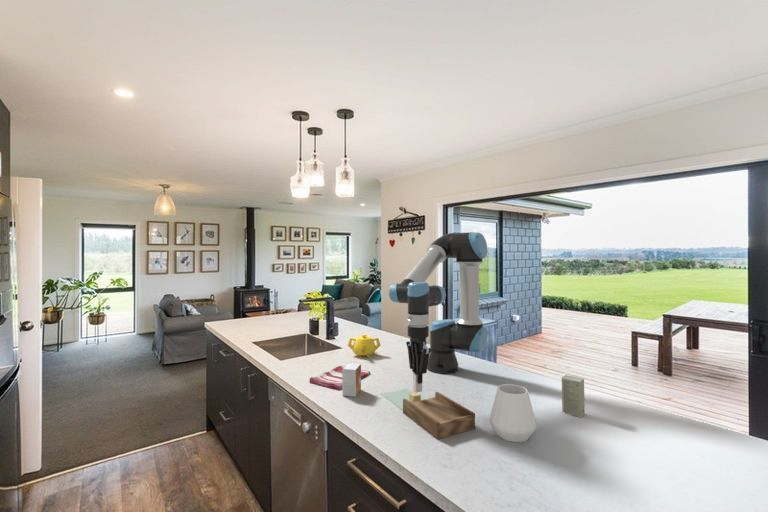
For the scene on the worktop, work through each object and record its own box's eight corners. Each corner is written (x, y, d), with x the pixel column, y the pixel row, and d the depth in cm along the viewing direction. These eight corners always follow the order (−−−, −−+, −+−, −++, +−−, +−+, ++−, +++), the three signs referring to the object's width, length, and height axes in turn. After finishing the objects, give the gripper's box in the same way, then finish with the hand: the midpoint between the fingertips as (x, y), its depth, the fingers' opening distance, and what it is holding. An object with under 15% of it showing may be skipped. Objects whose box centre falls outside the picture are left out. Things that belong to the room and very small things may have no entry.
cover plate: (407, 390, 147) (407, 378, 147) (432, 406, 131) (432, 393, 131) (380, 395, 141) (380, 383, 141) (403, 413, 126) (403, 399, 126)
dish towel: (307, 383, 154) (307, 377, 154) (342, 369, 174) (342, 363, 174) (338, 392, 145) (338, 385, 145) (371, 375, 165) (371, 369, 165)
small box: (355, 397, 138) (355, 370, 138) (342, 396, 139) (342, 369, 139) (361, 389, 146) (361, 363, 146) (348, 388, 147) (348, 362, 147)
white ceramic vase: (531, 451, 101) (532, 401, 101) (484, 437, 108) (484, 391, 108) (539, 430, 112) (539, 386, 112) (496, 420, 119) (496, 378, 119)
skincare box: (585, 413, 124) (585, 378, 124) (581, 418, 121) (581, 381, 121) (565, 408, 128) (565, 374, 128) (561, 412, 125) (561, 377, 125)
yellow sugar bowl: (380, 360, 186) (380, 339, 185) (345, 360, 186) (345, 339, 186) (381, 350, 206) (381, 330, 205) (349, 350, 206) (349, 330, 206)
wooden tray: (437, 404, 131) (437, 391, 131) (475, 428, 114) (475, 413, 114) (402, 413, 125) (402, 399, 125) (437, 439, 107) (437, 423, 107)
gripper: (400, 323, 133) (399, 387, 133) (418, 329, 121) (418, 399, 122) (417, 321, 137) (417, 383, 137) (437, 327, 125) (437, 395, 125)
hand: (417, 391), depth 129 cm, fingers closed
